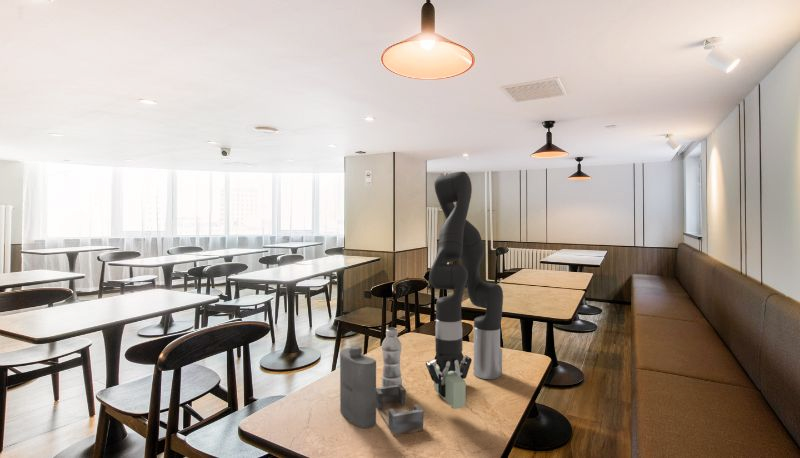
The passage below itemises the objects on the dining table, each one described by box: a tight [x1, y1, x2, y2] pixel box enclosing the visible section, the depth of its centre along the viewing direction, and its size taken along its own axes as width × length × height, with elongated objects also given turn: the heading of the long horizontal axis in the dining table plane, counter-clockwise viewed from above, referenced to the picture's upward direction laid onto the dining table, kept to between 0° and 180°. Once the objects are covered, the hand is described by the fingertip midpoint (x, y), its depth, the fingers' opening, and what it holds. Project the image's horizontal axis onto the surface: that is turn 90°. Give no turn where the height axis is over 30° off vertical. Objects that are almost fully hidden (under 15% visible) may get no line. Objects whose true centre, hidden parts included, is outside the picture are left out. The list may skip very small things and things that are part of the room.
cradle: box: [376, 384, 424, 437], centre depth 109 cm, size 8×17×5 cm, turn 20°
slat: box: [433, 365, 467, 410], centre depth 109 cm, size 4×12×7 cm, turn 21°
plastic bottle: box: [381, 327, 403, 387], centre depth 126 cm, size 6×7×20 cm
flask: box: [339, 345, 377, 429], centre depth 109 cm, size 15×6×20 cm, turn 37°
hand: (449, 394), depth 109 cm, fingers closed on slat, 3 cm apart
